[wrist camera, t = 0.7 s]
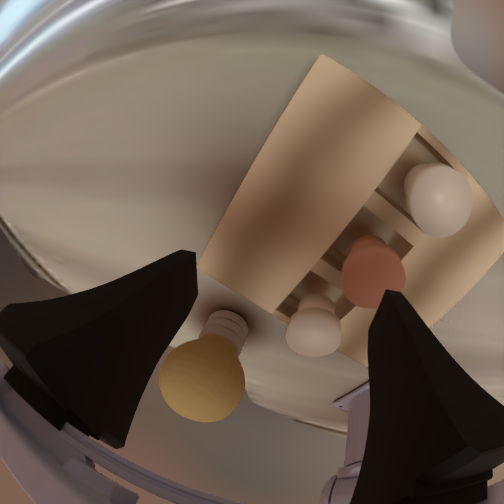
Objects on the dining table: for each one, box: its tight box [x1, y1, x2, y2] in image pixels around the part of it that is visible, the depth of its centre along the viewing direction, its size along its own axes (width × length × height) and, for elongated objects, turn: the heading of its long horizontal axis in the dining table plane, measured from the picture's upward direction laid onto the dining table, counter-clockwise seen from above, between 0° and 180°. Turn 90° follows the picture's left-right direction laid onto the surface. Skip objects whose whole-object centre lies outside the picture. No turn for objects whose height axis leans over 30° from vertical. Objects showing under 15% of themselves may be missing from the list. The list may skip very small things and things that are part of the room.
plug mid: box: [342, 235, 406, 309], centre depth 13 cm, size 3×3×3 cm
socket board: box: [196, 54, 504, 367], centre depth 16 cm, size 16×15×3 cm
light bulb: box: [159, 310, 248, 422], centre depth 20 cm, size 6×6×10 cm
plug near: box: [404, 163, 473, 238], centre depth 10 cm, size 3×3×3 cm
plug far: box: [285, 294, 341, 357], centre depth 16 cm, size 3×3×3 cm
